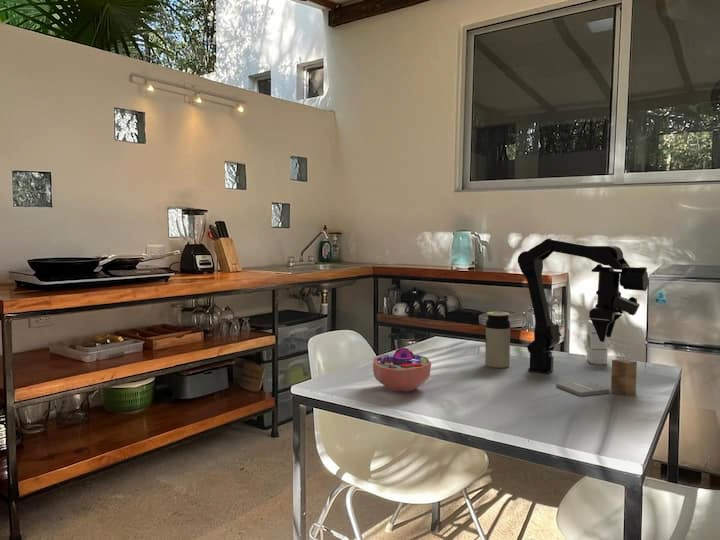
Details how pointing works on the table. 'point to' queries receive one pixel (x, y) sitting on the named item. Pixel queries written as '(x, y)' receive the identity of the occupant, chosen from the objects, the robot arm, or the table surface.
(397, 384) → the cell model
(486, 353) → the travel mug
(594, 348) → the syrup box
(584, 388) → the coaster
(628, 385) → the walnut block
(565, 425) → the table surface
